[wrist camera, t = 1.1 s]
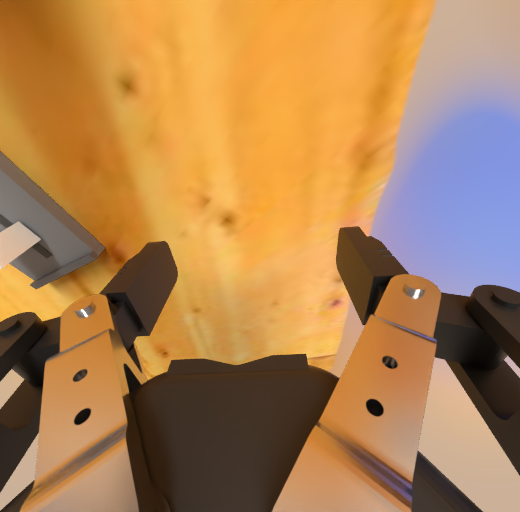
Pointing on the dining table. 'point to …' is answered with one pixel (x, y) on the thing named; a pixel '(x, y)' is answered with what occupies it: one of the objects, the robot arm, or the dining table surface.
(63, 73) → the dining table surface
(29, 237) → the fader cap
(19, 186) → the fader board
